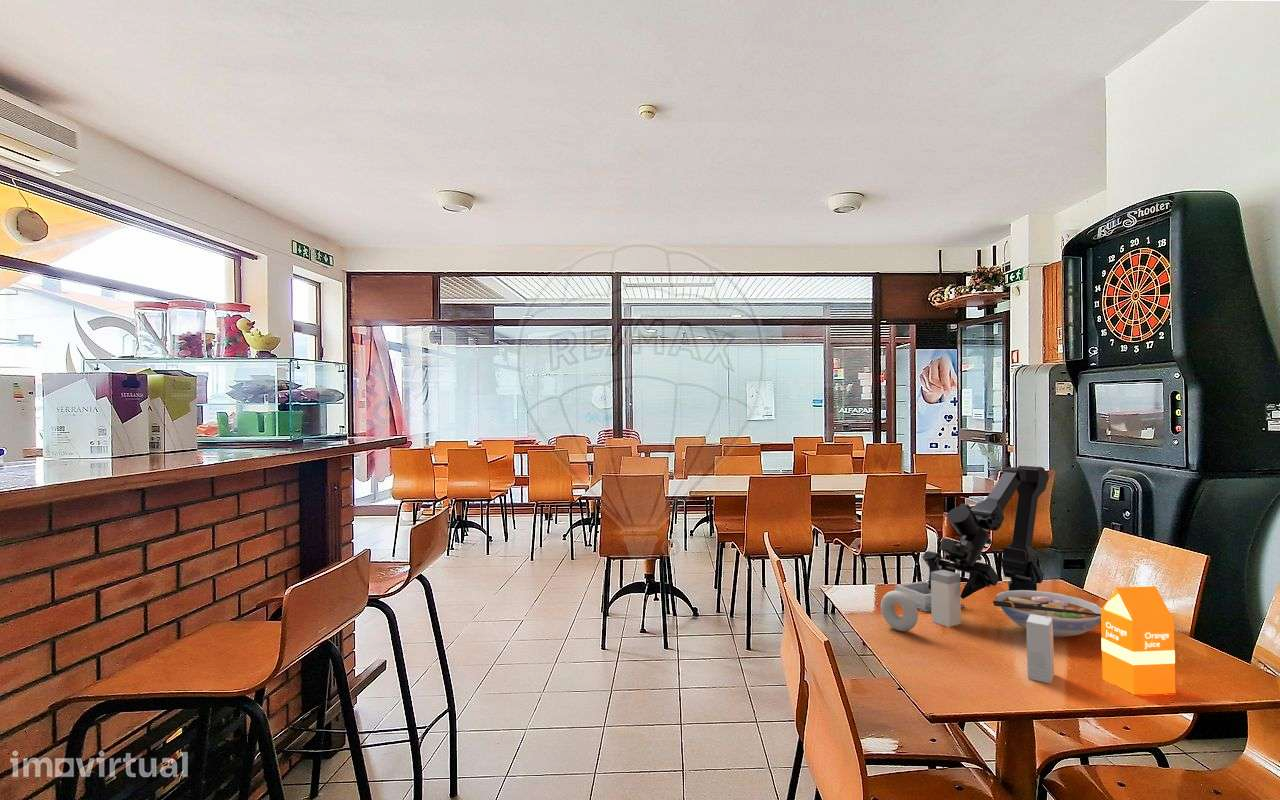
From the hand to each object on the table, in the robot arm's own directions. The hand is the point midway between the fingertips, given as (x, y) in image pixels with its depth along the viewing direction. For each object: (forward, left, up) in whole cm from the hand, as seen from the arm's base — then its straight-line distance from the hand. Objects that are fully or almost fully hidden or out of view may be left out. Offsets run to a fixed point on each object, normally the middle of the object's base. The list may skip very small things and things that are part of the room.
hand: (945, 593), depth 161 cm
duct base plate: (+5, -16, -8) cm, 19 cm away
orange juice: (-34, +25, -8) cm, 43 cm away
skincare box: (-17, +28, -8) cm, 34 cm away
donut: (+11, +11, -8) cm, 17 cm away
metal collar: (+5, -16, -8) cm, 19 cm away
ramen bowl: (-23, -2, -8) cm, 25 cm away
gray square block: (0, 0, -8) cm, 8 cm away
